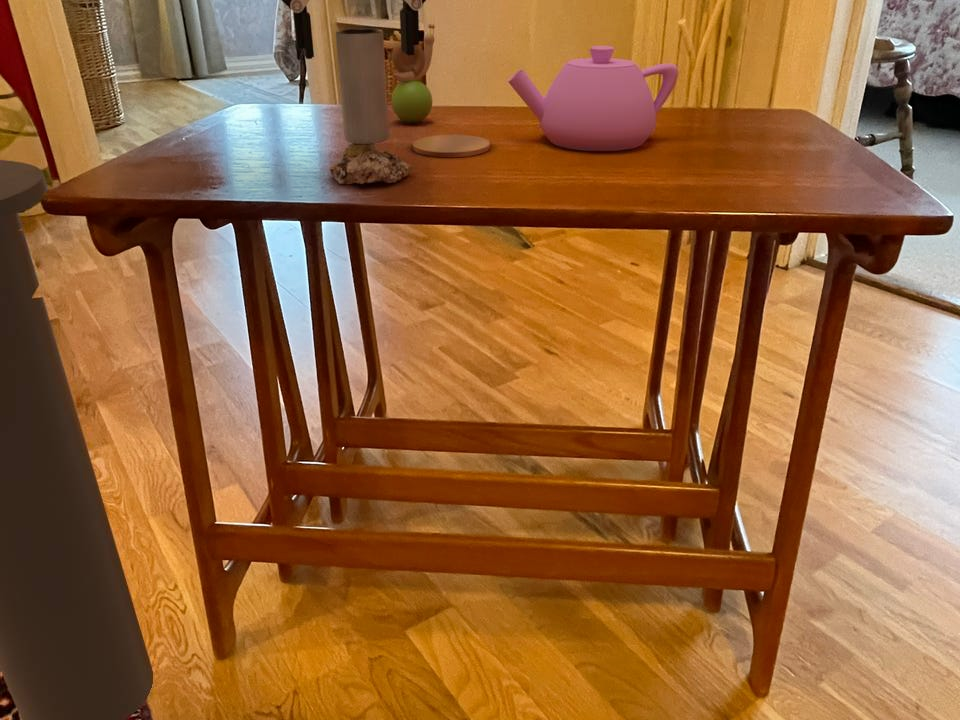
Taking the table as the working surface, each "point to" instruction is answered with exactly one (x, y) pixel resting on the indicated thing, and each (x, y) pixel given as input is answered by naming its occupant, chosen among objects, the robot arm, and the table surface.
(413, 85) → the snail figurine
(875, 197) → the table surface
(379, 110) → the grey cylinder
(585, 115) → the teapot
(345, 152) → the mineral rock
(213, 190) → the table surface
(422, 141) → the cork coaster
